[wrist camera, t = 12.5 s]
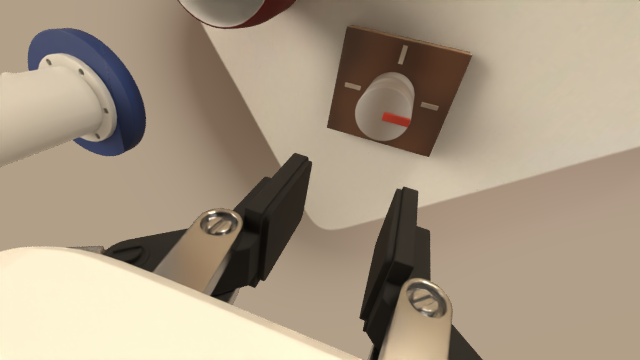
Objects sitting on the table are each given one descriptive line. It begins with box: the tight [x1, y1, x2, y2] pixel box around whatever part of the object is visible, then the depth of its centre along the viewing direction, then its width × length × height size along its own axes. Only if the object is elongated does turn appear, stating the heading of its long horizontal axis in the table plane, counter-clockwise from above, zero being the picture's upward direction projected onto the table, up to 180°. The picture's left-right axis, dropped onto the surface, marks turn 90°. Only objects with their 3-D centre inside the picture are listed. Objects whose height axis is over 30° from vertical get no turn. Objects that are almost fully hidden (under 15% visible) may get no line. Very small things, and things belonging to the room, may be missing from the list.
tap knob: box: [355, 72, 415, 141], centre depth 24 cm, size 4×4×6 cm
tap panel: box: [327, 25, 472, 157], centre depth 27 cm, size 10×9×2 cm
